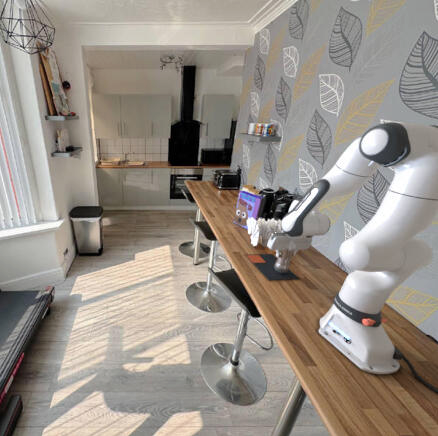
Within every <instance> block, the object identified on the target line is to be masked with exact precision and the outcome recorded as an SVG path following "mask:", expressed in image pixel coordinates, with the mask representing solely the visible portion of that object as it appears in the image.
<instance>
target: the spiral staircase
mask: <svg viewBox="0 0 438 436" xmlns="http://www.w3.org/2000/svg"><path fill="white" fill-rule="evenodd" d="M281 221H282V219H278V220H276V219H275V217H272V218H271V219H270V218H267V220H266V218H262V217H261V218H259V219H258V221H256V220H255V219H254V217H252V218H250V217H249V218H248V219H247V221H246V222H247V226H248V230H247V234H248V235H250V237H249V238H250V240H251V242H250V244H251V245H252V247H257V246H258V244H259V243H260V245H262V248H268V246H267V244H268V241H269V239H270V237H271V235H272V234H273V233H275V232H282V228H281Z"/></svg>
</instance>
